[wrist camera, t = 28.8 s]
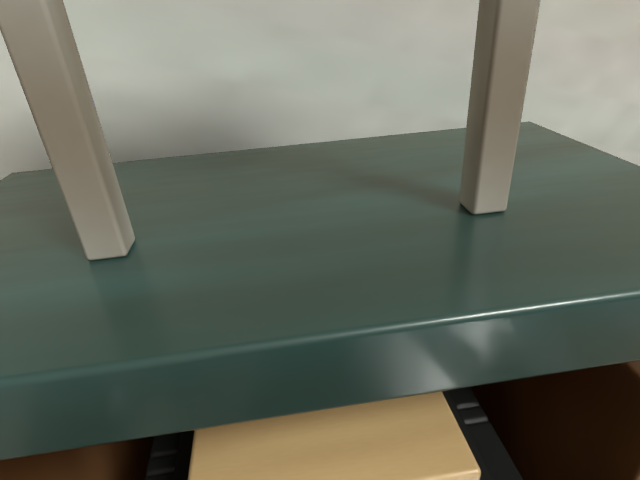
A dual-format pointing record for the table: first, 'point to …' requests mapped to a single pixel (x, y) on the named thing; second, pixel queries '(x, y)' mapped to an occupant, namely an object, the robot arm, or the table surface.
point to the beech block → (340, 445)
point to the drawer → (315, 276)
